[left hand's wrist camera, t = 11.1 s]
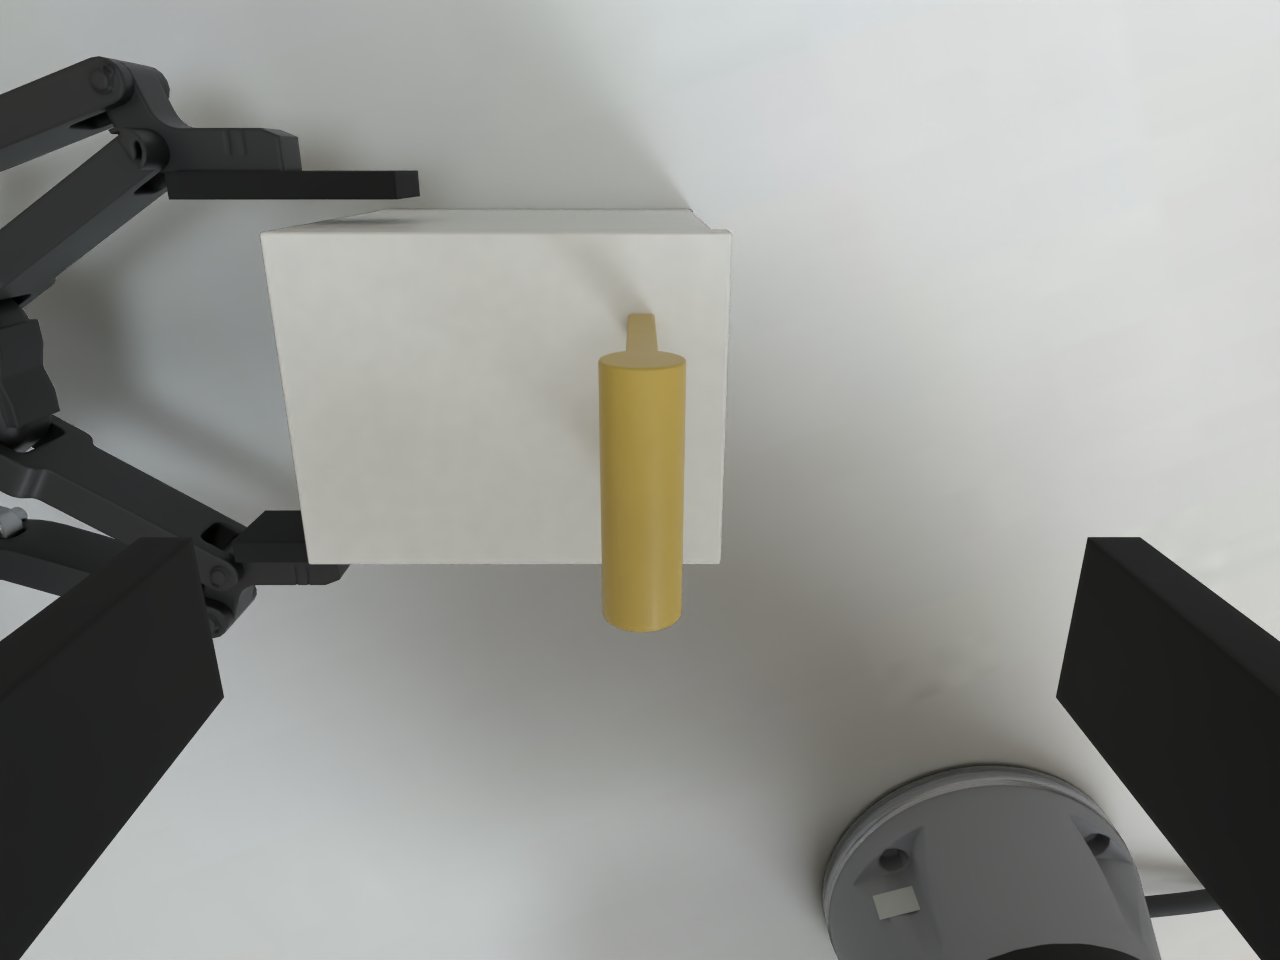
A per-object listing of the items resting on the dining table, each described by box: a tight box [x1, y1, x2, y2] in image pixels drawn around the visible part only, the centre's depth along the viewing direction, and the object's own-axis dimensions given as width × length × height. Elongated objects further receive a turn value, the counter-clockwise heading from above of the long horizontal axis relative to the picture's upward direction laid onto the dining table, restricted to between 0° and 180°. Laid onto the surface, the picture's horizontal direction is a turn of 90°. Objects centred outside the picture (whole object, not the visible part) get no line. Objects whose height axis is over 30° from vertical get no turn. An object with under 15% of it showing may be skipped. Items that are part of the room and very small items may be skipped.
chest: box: [278, 210, 712, 230], centre depth 29 cm, size 12×10×10 cm
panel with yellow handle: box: [260, 230, 732, 632], centre depth 21 cm, size 12×9×8 cm
